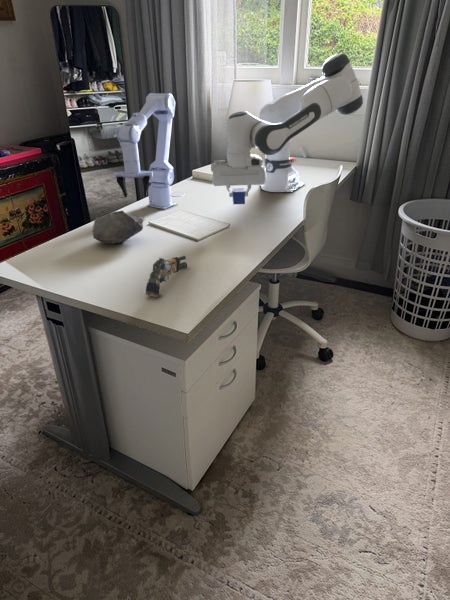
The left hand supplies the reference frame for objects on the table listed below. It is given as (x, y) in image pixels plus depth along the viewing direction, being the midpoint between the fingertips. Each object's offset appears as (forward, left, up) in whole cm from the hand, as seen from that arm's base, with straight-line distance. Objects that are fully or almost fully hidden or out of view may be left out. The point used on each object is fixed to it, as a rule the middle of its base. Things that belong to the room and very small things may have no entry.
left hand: (135, 196), depth 164 cm
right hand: (+33, +23, 0) cm, 40 cm away
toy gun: (+46, -34, -9) cm, 58 cm away
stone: (+11, -20, -9) cm, 25 cm away
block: (+33, +23, -3) cm, 40 cm away
